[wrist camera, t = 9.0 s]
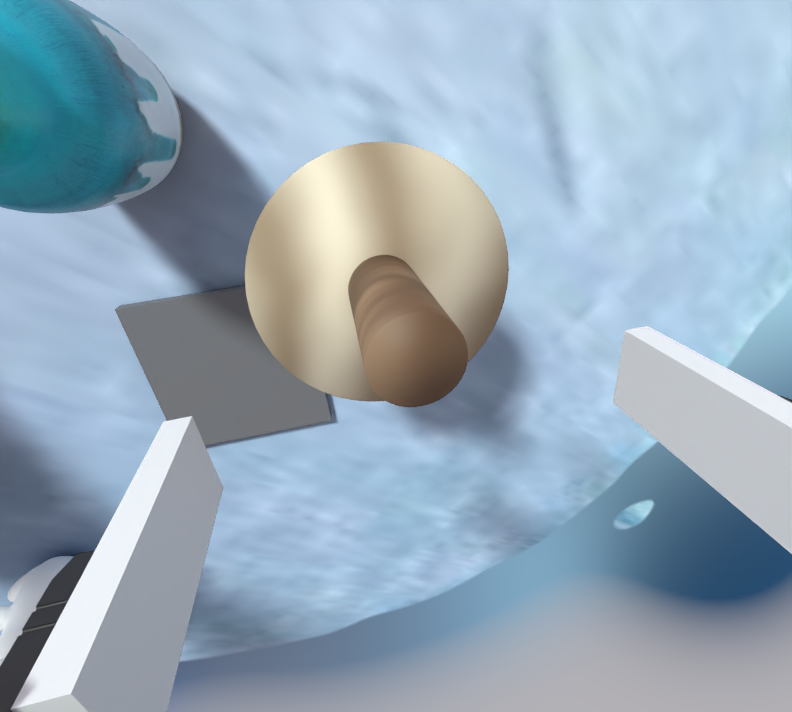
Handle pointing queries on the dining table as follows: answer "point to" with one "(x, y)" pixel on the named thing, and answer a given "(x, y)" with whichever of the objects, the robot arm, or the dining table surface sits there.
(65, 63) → the vase
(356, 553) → the dining table surface
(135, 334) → the mat
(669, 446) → the robot arm
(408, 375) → the lid
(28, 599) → the figurine
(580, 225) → the dining table surface
